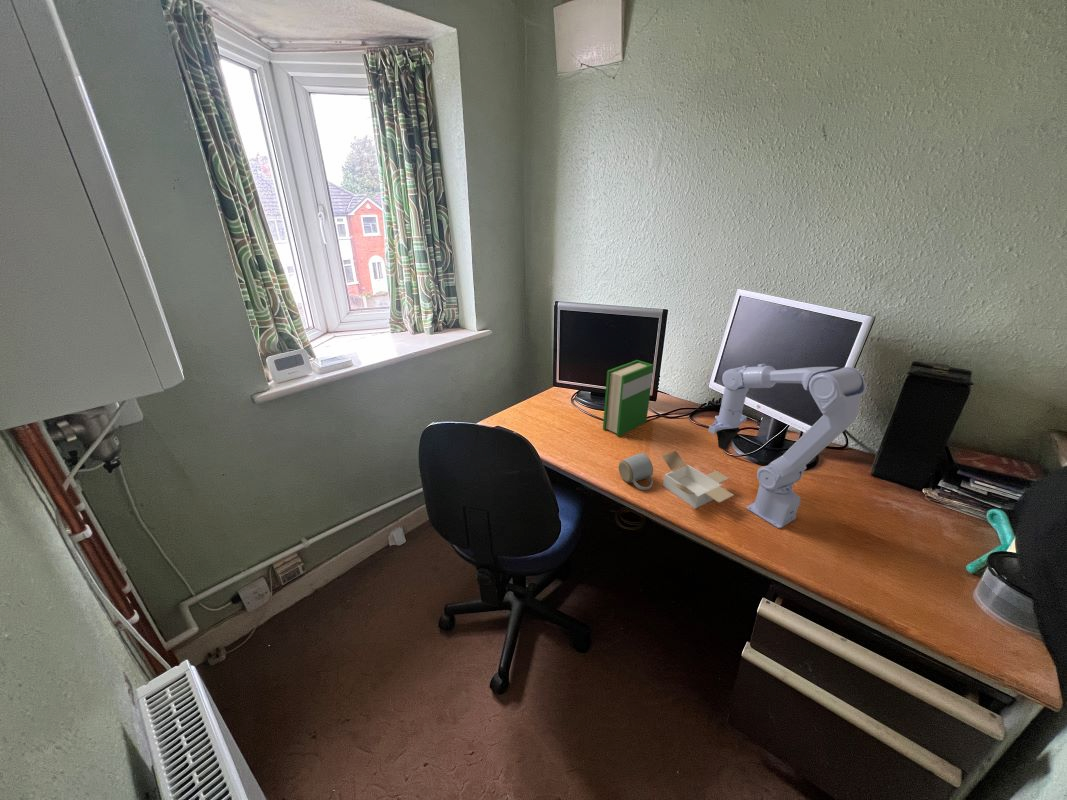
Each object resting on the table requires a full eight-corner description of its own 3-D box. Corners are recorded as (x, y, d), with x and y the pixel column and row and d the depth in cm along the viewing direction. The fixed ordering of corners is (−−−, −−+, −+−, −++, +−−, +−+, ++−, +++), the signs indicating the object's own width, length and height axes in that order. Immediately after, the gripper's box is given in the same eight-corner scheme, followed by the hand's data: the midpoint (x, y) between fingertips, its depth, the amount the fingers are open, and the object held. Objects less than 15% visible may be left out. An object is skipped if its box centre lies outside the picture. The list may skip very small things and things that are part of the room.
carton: (743, 500, 115) (746, 488, 113) (709, 518, 108) (712, 505, 106) (695, 471, 128) (698, 460, 126) (662, 486, 121) (664, 474, 119)
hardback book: (618, 437, 148) (624, 376, 138) (602, 429, 153) (607, 370, 143) (646, 422, 158) (653, 364, 148) (630, 415, 163) (636, 359, 153)
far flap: (675, 450, 125) (675, 451, 126) (662, 455, 123) (661, 456, 123) (685, 464, 123) (685, 464, 123) (671, 469, 120) (671, 470, 121)
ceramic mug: (615, 475, 126) (618, 454, 123) (636, 468, 129) (639, 448, 126) (637, 494, 118) (640, 473, 114) (659, 487, 121) (662, 466, 117)
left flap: (686, 492, 108) (685, 493, 108) (695, 493, 110) (694, 494, 110) (673, 483, 111) (672, 484, 111) (682, 484, 114) (681, 485, 114)
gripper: (735, 397, 122) (726, 436, 127) (703, 407, 115) (695, 448, 121) (757, 405, 116) (746, 446, 122) (724, 417, 109) (715, 459, 115)
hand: (722, 447), depth 121 cm, fingers closed
